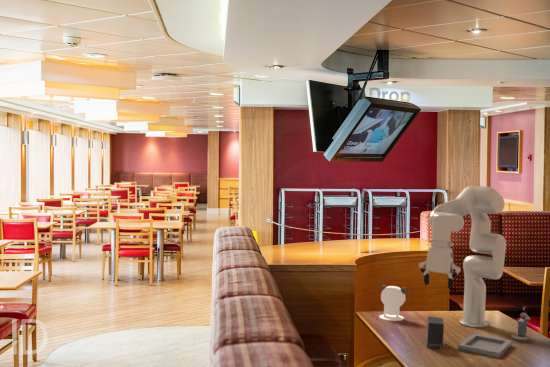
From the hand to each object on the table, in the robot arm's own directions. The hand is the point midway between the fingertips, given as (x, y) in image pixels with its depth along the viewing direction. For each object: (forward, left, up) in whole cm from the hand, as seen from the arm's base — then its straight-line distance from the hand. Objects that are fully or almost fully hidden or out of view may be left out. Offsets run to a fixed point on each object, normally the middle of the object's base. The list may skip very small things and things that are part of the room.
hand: (438, 286), depth 269 cm
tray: (-8, +18, -24) cm, 31 cm away
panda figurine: (-28, -31, -24) cm, 48 cm away
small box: (+1, 0, -24) cm, 24 cm away
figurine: (-30, +27, -24) cm, 47 cm away
